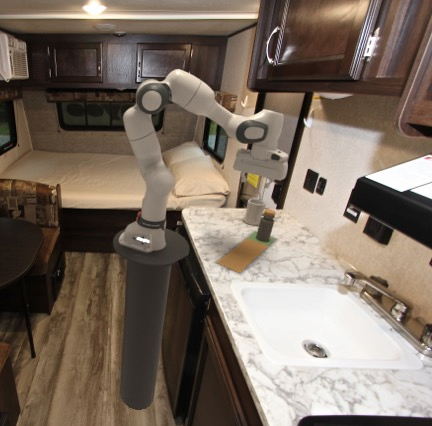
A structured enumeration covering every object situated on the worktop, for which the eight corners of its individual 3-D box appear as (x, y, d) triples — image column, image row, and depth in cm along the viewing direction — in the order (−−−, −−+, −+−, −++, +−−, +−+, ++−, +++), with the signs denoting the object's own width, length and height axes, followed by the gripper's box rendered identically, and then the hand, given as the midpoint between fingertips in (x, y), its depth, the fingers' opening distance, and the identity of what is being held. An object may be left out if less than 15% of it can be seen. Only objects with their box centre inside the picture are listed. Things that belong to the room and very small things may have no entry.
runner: (239, 273, 117) (239, 273, 117) (216, 262, 123) (216, 262, 123) (268, 246, 137) (268, 246, 137) (247, 238, 143) (247, 238, 143)
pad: (268, 246, 137) (268, 246, 137) (247, 238, 143) (247, 238, 143) (276, 239, 143) (276, 238, 143) (255, 231, 149) (255, 231, 149)
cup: (253, 217, 166) (258, 197, 161) (267, 223, 158) (272, 203, 153) (239, 219, 162) (244, 199, 157) (252, 227, 154) (258, 206, 149)
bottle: (253, 238, 143) (260, 210, 136) (259, 234, 146) (266, 207, 140) (265, 243, 139) (273, 214, 132) (270, 239, 142) (279, 211, 136)
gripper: (234, 148, 121) (227, 180, 127) (287, 158, 108) (277, 193, 114) (240, 146, 125) (234, 177, 131) (293, 155, 112) (283, 189, 118)
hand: (254, 184), depth 122 cm, fingers open, 8 cm apart
